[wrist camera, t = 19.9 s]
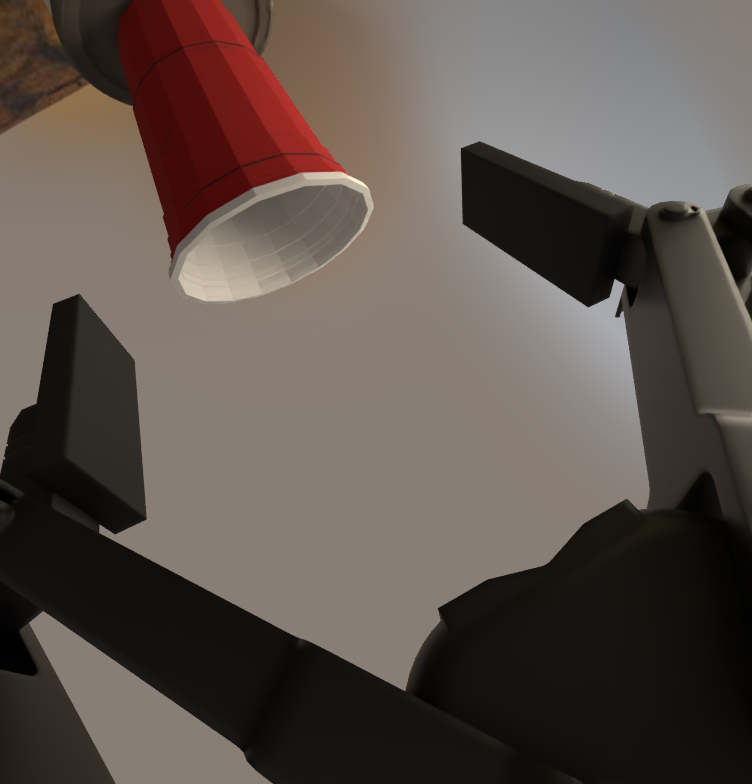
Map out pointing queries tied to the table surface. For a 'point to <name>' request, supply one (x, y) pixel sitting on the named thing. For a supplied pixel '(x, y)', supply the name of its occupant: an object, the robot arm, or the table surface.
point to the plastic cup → (231, 156)
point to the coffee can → (100, 28)
